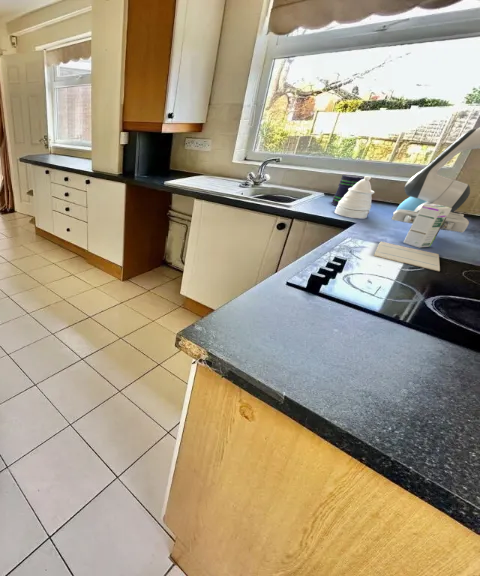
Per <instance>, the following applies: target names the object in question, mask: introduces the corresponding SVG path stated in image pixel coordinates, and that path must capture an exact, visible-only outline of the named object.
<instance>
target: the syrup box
mask: <svg viewBox="0 0 480 576" xmlns="http://www.w3.org/2000/svg"><path fill="white" fill-rule="evenodd" d="M451 209H452V208H451V207H447V206H443V205H436V204H431V205H422V207H421V209H420V211H419V213H418V215H417V217H416V218H415V220H414V222H413V224H411V226H410V228H409V230H408V231H407V234H406V236H405V238H404V240H403V244H406V245H409V246H412V247H415V248H420V249H421V248H431V247H432V245H433V243H434V242H435V239H436V238H437V236H438V234H439V233H440V231H441V230H440V229H441V227H442V225H443V223H444V222H445V220H446V218H447V216H448V215H449V213H450V211H451Z"/></svg>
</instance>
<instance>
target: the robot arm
mask: <svg viewBox="0 0 480 576" xmlns="http://www.w3.org/2000/svg"><path fill="white" fill-rule="evenodd" d="M479 149H480V126H479V127H476V128H471V129H469V130H467V131H466V132H465V133H463V134H462V135H461V136H459V137H458V138H457V139H456V140H454V141H453V142H452V143H451V144H450V145H448V146H447V147H446V148H445V149H444V150H443V151H442V152H441V153H439V154H438V155H437V156H436V157H435V158H434V159H432V161H431V162H429V163H428V164H427V165H426V166H425V167H424V168H423V169H421V170H419V171H418V172H417V173H416V174H414V175H413V176H411V177H410V178H409V179H408V180H407V182H406V183H405V185H404V187H403V190H404V192H405V194H406V196H408V197H414V198H419V199H422V200H424V201H427V202H425V203H423V204H421V205H419V206H418V207H417V208H416V209H415V210H414V211H410V210H403V209H399V210H397V209H396V210H394V211H393V212H392V214H393V215H392V217H391V221H395V222H401V223H404V224H405V223H407V224H411V225H412V224H413V222H414V220H415V218H416V217H417V215H418V213H419V211H420V209H421V207H422V205H431V204H436V205H443V206H447V207H451V208H452V209H451V211H450V213H449V215H448V216H447V218H446V220H445V222H444V223H443V225H442V227H441V229H440V231H447V232H454V233H455V232H456V233H461V234H463V233H464V232H465V231H466V230H467V228H468V226H469V224H470V222H469V219H467V218H466V217H464V216H465V214H464V213H461V212H456V211H457V210H458V209H459V208H460V207H461V206H462V205H463V204H464V203H465V202H466V201H467V200H468V198H469V196H470V194H471V186H470V185H469V183H466V182H462V181H459V180H456V179H452V178H449V177H447V176H443V175H441V174H438V172H439V170H440V169H442V168H443V167H445V165H446V164H447V163H449V162H450V161H451V160H453V158H455V157H456V156H457V155H459V154H460V153H462V152H465V151H468V150H469V151H470V150H479Z"/></svg>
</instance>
